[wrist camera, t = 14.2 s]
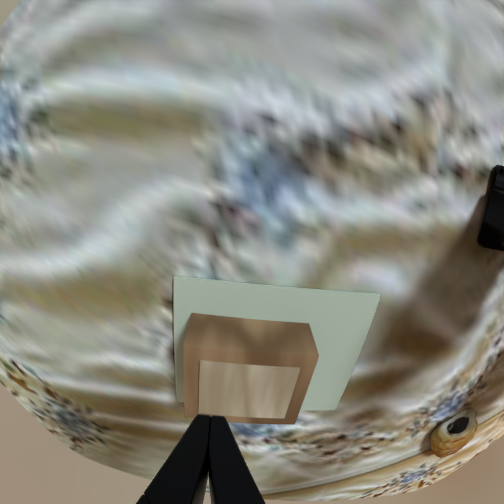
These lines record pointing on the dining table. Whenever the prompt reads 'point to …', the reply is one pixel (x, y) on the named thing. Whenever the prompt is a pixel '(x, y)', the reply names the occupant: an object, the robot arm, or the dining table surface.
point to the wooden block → (247, 368)
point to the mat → (287, 310)
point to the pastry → (454, 433)
